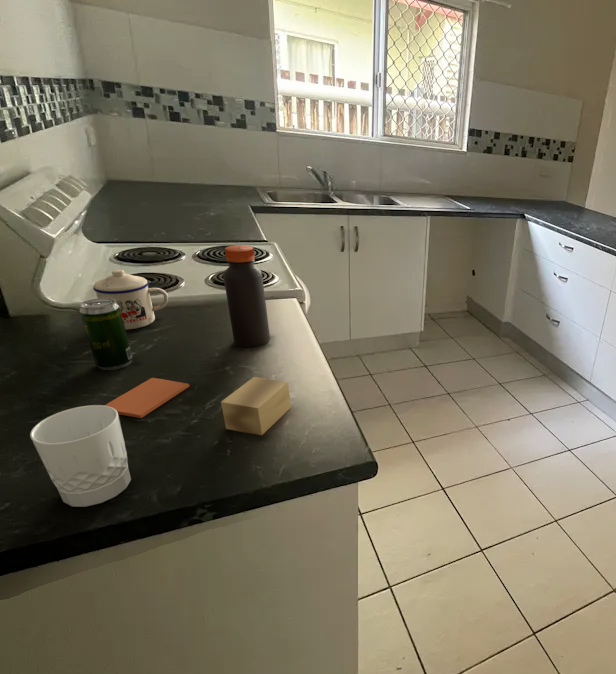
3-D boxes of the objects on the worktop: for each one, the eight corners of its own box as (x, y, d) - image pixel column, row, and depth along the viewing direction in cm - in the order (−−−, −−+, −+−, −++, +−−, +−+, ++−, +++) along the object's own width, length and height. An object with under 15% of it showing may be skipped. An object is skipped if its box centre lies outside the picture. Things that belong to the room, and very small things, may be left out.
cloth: (100, 411, 74) (99, 407, 74) (152, 380, 83) (152, 377, 83) (141, 418, 73) (140, 415, 73) (189, 386, 83) (188, 383, 82)
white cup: (41, 497, 58) (13, 430, 54) (111, 460, 65) (91, 398, 61) (83, 520, 56) (57, 452, 51) (151, 479, 62) (133, 416, 58)
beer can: (134, 355, 90) (118, 296, 85) (133, 367, 86) (116, 306, 81) (97, 360, 87) (79, 299, 82) (94, 373, 83) (75, 310, 78)
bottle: (267, 332, 104) (255, 242, 96) (273, 344, 99) (261, 251, 91) (232, 337, 101) (217, 244, 92) (236, 350, 96) (221, 253, 87)
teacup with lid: (101, 333, 97) (85, 279, 92) (106, 317, 103) (92, 265, 99) (172, 326, 103) (160, 274, 98) (172, 310, 110) (162, 262, 105)
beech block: (225, 429, 73) (220, 401, 71) (257, 402, 80) (254, 376, 78) (262, 435, 73) (257, 408, 70) (291, 407, 80) (288, 382, 78)
